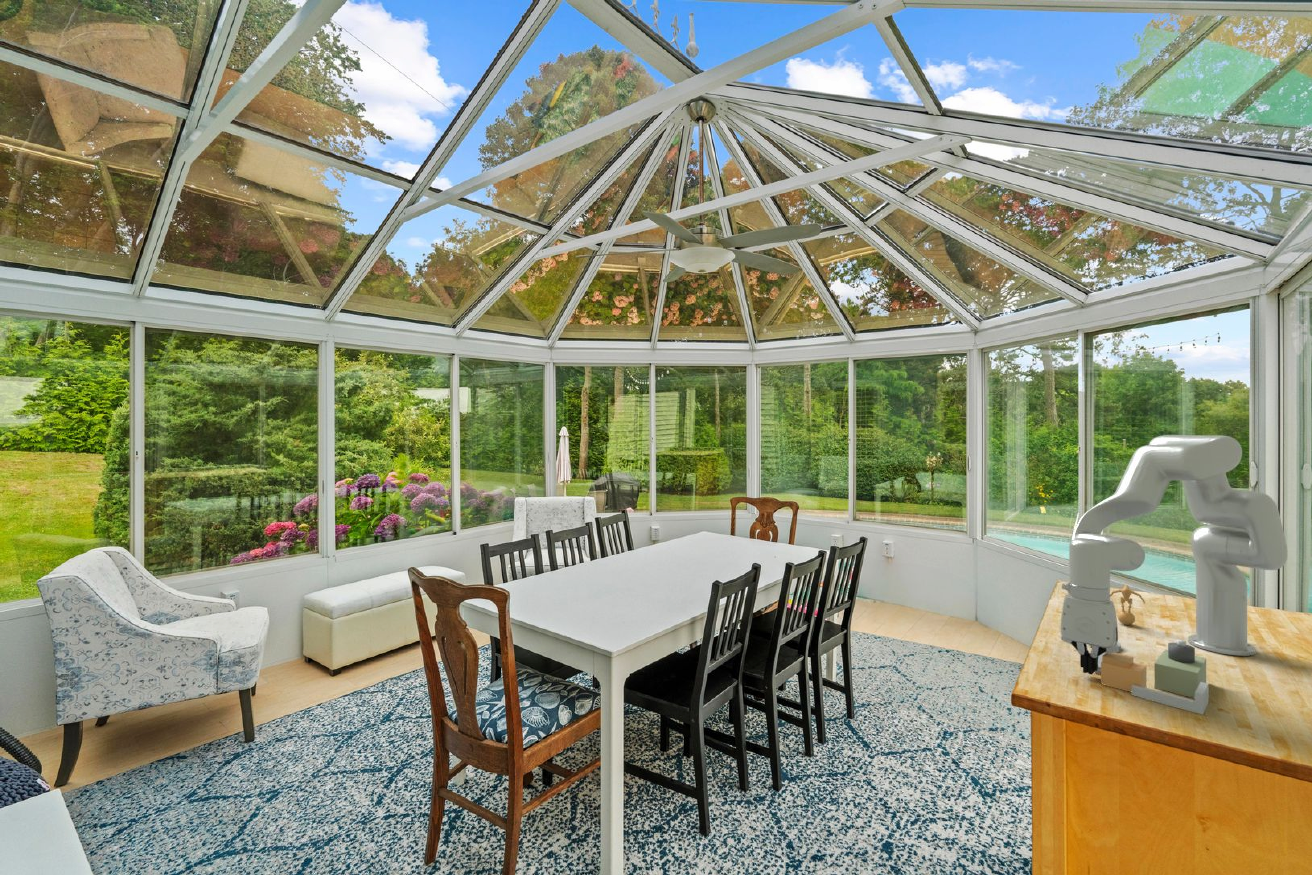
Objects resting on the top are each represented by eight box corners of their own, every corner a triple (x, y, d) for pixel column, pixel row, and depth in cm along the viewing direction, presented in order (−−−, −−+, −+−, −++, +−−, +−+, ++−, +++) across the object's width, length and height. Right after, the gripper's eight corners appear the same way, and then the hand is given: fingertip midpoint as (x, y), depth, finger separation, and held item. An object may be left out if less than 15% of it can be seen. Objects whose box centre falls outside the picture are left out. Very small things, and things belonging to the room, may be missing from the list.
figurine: (1144, 625, 167) (1144, 584, 167) (1145, 631, 162) (1145, 588, 162) (1108, 620, 172) (1108, 580, 172) (1108, 625, 167) (1107, 584, 167)
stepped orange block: (1107, 678, 132) (1106, 650, 132) (1146, 688, 127) (1146, 659, 127) (1101, 684, 129) (1101, 656, 129) (1141, 695, 124) (1141, 665, 124)
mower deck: (1151, 669, 137) (1151, 628, 136) (1216, 684, 128) (1216, 641, 128) (1131, 695, 124) (1131, 650, 123) (1202, 714, 115) (1202, 666, 115)
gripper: (1046, 589, 136) (1046, 666, 136) (1126, 603, 124) (1126, 687, 125) (1056, 583, 141) (1056, 658, 141) (1134, 596, 129) (1134, 678, 129)
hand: (1089, 671), depth 133 cm, fingers closed
